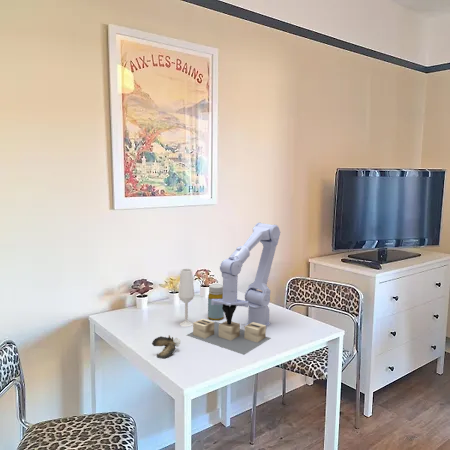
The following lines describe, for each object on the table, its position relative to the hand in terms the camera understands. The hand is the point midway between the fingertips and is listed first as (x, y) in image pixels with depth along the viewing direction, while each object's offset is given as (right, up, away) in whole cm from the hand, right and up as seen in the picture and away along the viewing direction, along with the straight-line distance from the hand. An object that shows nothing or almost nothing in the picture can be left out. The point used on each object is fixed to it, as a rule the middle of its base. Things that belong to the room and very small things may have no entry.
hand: (229, 323), depth 166 cm
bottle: (-6, -3, +21) cm, 22 cm away
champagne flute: (-18, -4, +13) cm, 23 cm away
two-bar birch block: (-10, -5, +2) cm, 12 cm away
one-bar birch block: (+10, -6, -1) cm, 12 cm away
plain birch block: (0, -5, +1) cm, 5 cm away
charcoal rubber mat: (0, -6, 0) cm, 6 cm away
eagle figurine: (-23, -8, -14) cm, 28 cm away
